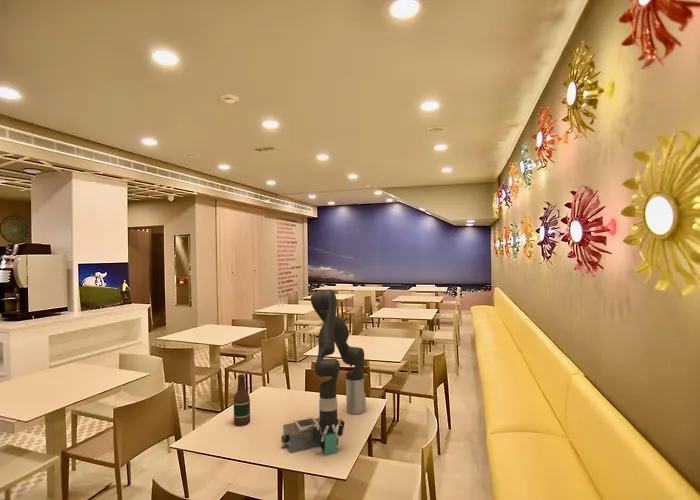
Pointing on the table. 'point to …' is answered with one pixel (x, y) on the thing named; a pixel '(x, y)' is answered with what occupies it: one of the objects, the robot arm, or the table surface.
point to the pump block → (330, 443)
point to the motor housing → (300, 434)
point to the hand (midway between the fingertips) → (329, 447)
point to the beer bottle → (241, 403)
